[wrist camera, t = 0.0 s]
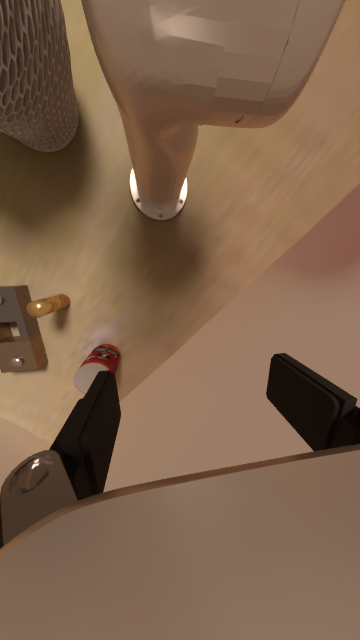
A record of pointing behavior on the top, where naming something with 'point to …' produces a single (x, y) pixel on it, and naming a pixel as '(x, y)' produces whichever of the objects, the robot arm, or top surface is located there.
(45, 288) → the top surface
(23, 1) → the vase
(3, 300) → the bolted slotted plate
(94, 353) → the canned food
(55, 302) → the pin
